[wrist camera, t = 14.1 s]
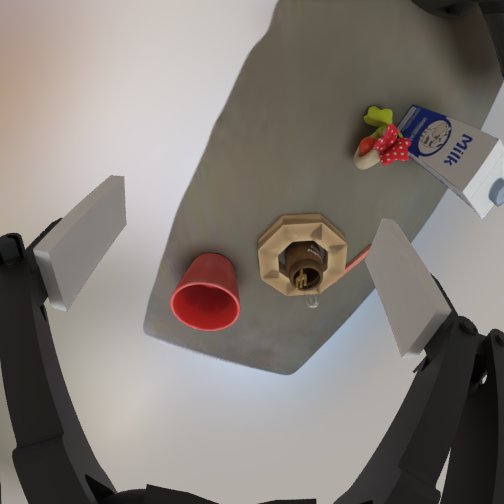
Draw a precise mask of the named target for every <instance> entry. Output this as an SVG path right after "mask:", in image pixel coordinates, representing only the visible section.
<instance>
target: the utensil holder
mask: <svg viewBox="0 0 504 504" xmlns="http://www.w3.org/2000/svg"><path fill="white" fill-rule="evenodd" d="M285 263H286V271H287V274H288V276H289V280H290V282H291V284H292V286H293V287H294V288H295V289H297V290H300V291H307V294H308V291H310V290H313V289H315V288H317V287H318V286H319V285H320V284H321V282H322V280H323V261H322V257H321V253H320V250H319V248H318V246H317V245H316V244H315V243H314V242H313V241H296V242H292V243H291V244H290V245H289V246H288V247H287V249H286V252H285ZM315 290H316V289H315ZM315 290H314V291H315ZM317 290H318V289H317ZM316 292H317V291H316ZM318 293H319V292H318ZM318 293H317V294H318ZM312 294H313V293H312ZM315 295H316V294H315ZM304 296H305V294H304ZM309 296H310V294H309ZM313 297H314V296H313ZM318 297H320V296H318ZM304 299H305V300H306V298H304ZM310 299H311V298H310ZM308 301H309V300H308ZM314 301H315V300H314ZM306 302H307V301H306ZM306 302H305V303H306ZM311 302H312V301H311ZM307 304H308V303H307ZM315 304H316V303H315ZM318 304H320V301H319V303H318ZM308 305H310V304H308ZM316 306H317V305H315V306H314V307H313V306H312V307H310V308H316ZM318 306H319V305H318ZM318 306H317V307H318Z"/></svg>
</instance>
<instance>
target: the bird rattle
mask: <svg viewBox="0 0 504 504" xmlns="http://www.w3.org/2000/svg"><path fill="white" fill-rule="evenodd" d="M392 115H393V112H392V111H391V110H390V109H383V110H380V109H379V108H377V107H375V106H372V107H370V108H369V110H368V114H367V115H366V116H364V120H365V122H366V123H367V124H368V125H372V126H377V127H379V128H378V129H377V130H376V132H374V133H373V134H372V135H370V136H369V137H365V138H364V139H363V140H362V141H361V142H360V144H359V146H358V149H357V151H356V153H355V155H354V158H353V163H354V165H355V166H356V167H357V168H359V169H362V170H364V169H367V168H370V167H371V166H373V165H375V164H376V163H377V162H379V161H381V163H382V165H389V164H390V163H392V162H393V161H394V160H400V161H408V160H409V153H408V150H407V148H408V147H409V146H410V145H411V141H410V139H408V138H404V137H403V136H402V134H401V133H400V131H399V129H398V128H397V127H395V125H393V124H392ZM397 135H398V137H400V138H397ZM396 138H397V139H396Z"/></svg>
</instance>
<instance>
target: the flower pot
mask: <svg viewBox="0 0 504 504" xmlns="http://www.w3.org/2000/svg"><path fill="white" fill-rule="evenodd" d="M170 304H171V309H172V311H173V313H174V315H175V316H176V317H177V318H178V319H179V320H180V321H181V322H183V323H184V324H186V325H188V326H190V327H192V328H195V329H199V330H205V331H215V330H220V329H224V328H226V327H228V326H230V325H231V324H233V323H234V322H235V321H236V319H237V318H238V316H239V313H240V300H239V293H238V287H237V281H236V276H235V271H234V267H233V265H232V263H231V262H230V261H229V260H228V259H227V258H226V257H224V256H222V255H219V254H214V253H206V254H202V255H200V256H198V257H197V258H196V259H195V260H194V261H193V262H192V264H191V265H190V267H189V268H188V269H187V271H186V272H185V274H184V276H183V277H182V279H181V280H180V282H179V284H178V285H177V287H176V289H175V291H174V293H173V295H172V297H171V301H170Z"/></svg>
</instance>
